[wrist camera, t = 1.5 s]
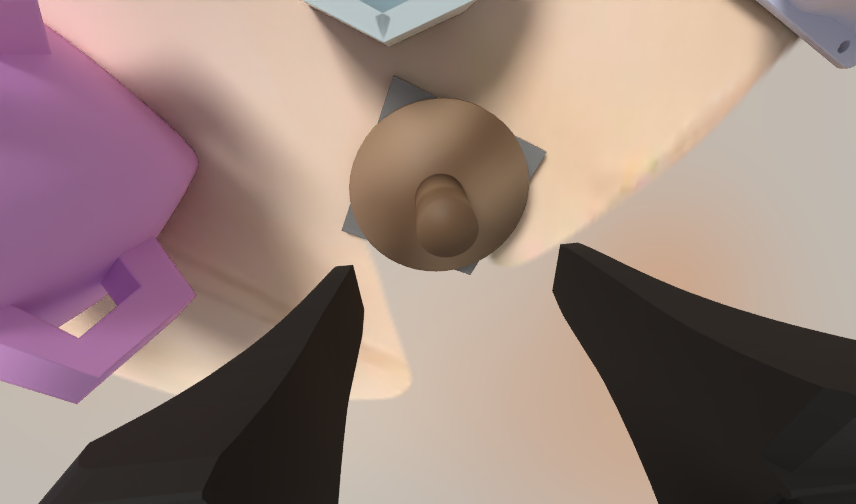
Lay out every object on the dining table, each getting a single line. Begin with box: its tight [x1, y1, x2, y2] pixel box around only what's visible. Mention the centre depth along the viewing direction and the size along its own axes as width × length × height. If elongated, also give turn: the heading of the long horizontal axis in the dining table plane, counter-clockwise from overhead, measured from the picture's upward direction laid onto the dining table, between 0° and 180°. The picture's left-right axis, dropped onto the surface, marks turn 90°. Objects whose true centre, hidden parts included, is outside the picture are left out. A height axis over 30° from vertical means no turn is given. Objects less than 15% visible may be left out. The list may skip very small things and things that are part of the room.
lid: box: [349, 98, 529, 271], centre depth 16 cm, size 10×10×5 cm
